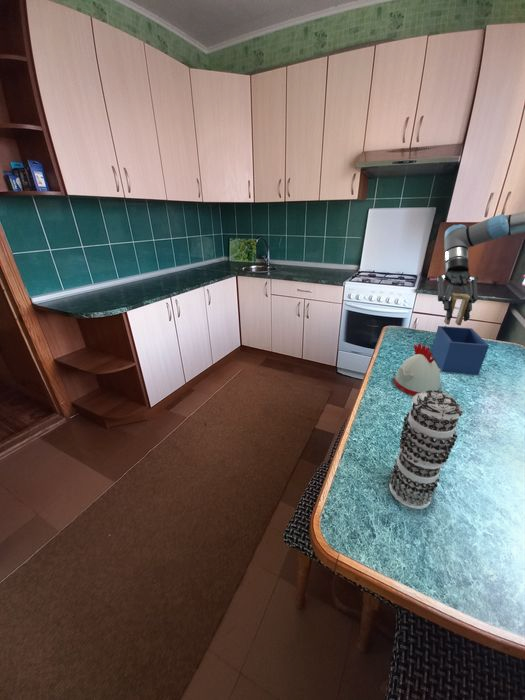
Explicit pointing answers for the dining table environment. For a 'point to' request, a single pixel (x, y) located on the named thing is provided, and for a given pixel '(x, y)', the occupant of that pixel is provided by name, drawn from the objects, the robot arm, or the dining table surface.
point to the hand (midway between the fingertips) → (458, 318)
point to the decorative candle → (424, 447)
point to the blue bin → (459, 350)
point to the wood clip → (461, 310)
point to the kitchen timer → (418, 373)
